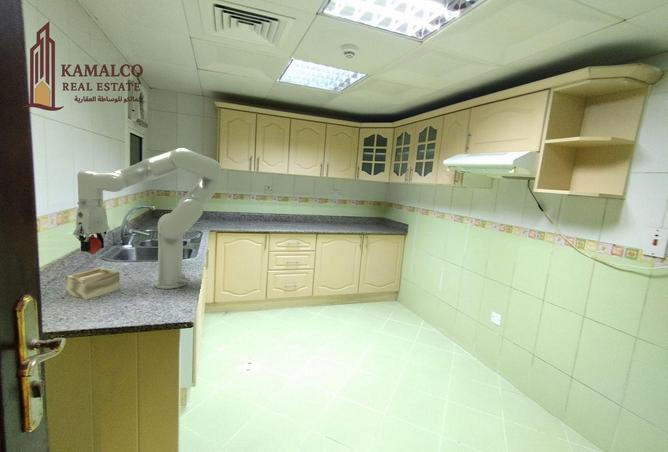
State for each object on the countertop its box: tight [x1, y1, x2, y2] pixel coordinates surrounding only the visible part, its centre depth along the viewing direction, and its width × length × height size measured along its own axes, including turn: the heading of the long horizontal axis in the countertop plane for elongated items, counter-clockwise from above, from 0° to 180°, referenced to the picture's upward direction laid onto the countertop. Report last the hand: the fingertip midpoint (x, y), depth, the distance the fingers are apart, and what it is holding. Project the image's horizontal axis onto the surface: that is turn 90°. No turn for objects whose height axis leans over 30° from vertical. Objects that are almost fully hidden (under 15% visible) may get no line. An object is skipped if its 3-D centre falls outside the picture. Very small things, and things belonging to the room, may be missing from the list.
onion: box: [87, 234, 102, 255], centre depth 123 cm, size 6×6×8 cm
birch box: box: [65, 267, 121, 300], centre depth 125 cm, size 11×13×8 cm
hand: (92, 249), depth 123 cm, fingers closed on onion, 5 cm apart
